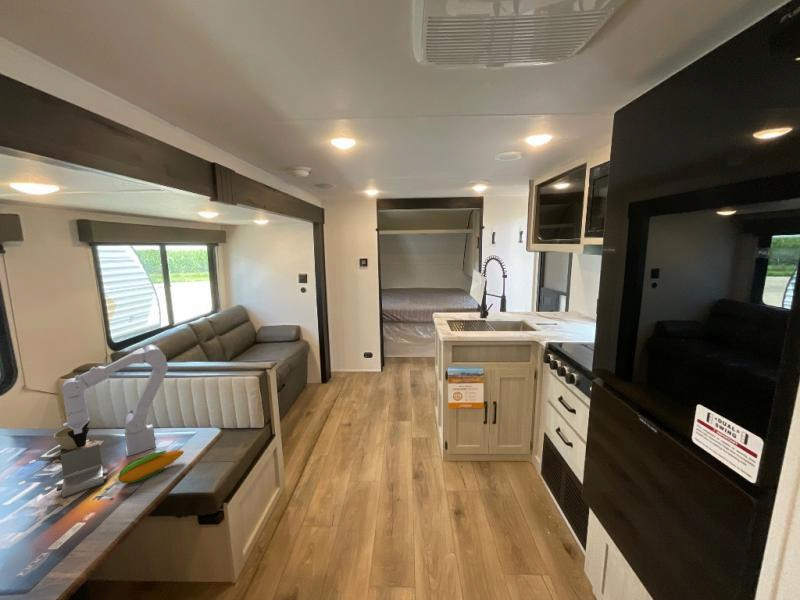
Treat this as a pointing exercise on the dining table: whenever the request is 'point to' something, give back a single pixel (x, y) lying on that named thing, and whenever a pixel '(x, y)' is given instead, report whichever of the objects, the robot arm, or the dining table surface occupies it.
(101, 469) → the cooker
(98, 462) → the lid
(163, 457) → the corn
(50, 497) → the dining table surface
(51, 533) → the dining table surface
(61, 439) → the flower pot
